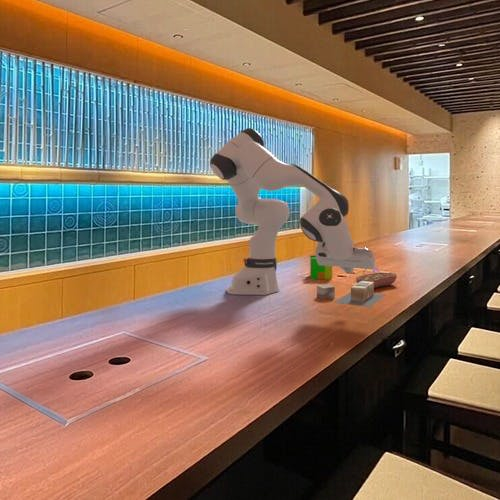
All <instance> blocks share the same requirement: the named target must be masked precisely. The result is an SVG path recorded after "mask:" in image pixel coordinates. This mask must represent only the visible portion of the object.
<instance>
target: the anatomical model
mask: <svg viewBox="0 0 500 500" xmlns="http://www.w3.org/2000/svg"><path fill="white" fill-rule="evenodd" d="M397 276H398V275H397V273H394V272H393V273H392V272H380V273H378V272H377V273H376V272H375V273H369V274H364V275H360V276H357V277H356V278H355V282H356V284H357V283H359V282H361V281H368V282H374V289H376V288H381V287H386V286H391V285H393V284H394V283H395V282H396V280H397Z"/></svg>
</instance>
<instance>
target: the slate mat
mask: <svg viewBox="0 0 500 500" xmlns="http://www.w3.org/2000/svg"><path fill="white" fill-rule="evenodd" d="M385 296H386V294H384V293H383V294H382V293H374V294H373V295H372V296H370V297H369V298H368V299H366V300H365V301H355V300H351V291H350V292H348V293H347V294H345V295H344V296H341V297H340V298H338V299H336V300H334V302H333V303H334V304H343V305H353V306H359V307H360V306H361V307H370V308H371V307H372V306H374V305H375V304H376V303H377V302H379V301H380V300H381V299H383V298H384V297H385Z"/></svg>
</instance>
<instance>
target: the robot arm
mask: <svg viewBox="0 0 500 500" xmlns="http://www.w3.org/2000/svg"><path fill="white" fill-rule="evenodd" d="M209 166H210V168H211V170H212V172H213V173H214V174H215V176H217V177H218V178H219V179H221V180H223V181H227V182H228V183H229V185H230V187H231V189H232V190H233V192H234V195H235V196H236V198H237V205H236V207H235V216H236V218H237V220H238V221H239V222H241V223H244V224H247V225H254V226H255V225H256V226H257V230H256V233H255V234H254V235H252V236H250V238H249V241H248V245H249V246H248V251H249V253H248V257H243V259H242V262H243V263H244V267H243V268H241V269H240V270H238V272H236V273H235V274H234V275H233V277H232V279H231V285H229V286H227V287H226V293H228V294H229V295H244V296H245V295H247V296H251V295H253V296H254V295H255V296H267V295H269V294H274V293H277V292H279V291H280V287H279V283H278V277H277V267H278V266H277V264H278V262H277V257H276V244H277V243H276V242H277V237H278V233H279V231H280V229H281V228H282V226H284V224H286V223H287V221H288V220H289V217H290V207H289V205H288V203H287V202H286V201H283V200H281V199H276V198H261V197H260V196H259V194H260V192H261V189H262V190H264V191H268V192H273V191H274V192H275V191H279V190H282V189H284V188H286V187H291V186H294V185H296V186H297V185H298V186H302V187H304V188H305V189H306V190H308V191H309V192H311V193H312V194H314V195H315V196H317V198H319V200H318V201H317V202H316V203H314V205H313V206H312V207H310V208H309V209H308V210H307V211H305V213H303V215H302V216H301V217H300V218H299V227H300V229H301V231H302V233H303V234H304V235H305V237H307V238H308V239H309V240H311V241H313V242H318V243H317V244H316V248H315V251H314V252H315V253H314V255H315V256H316V260H317V263H318V264H319V265H322V266H332V267H336V268H337V267H338V268H340V269H341V270H343V271H344V273H345V274H354V272H355V271H354V270H355V269H364V270H365V269H366V270H372V268H373V267H374V265H375V264H376V258H375V256H374V254H373V251H372V250H370V249H369V248H366V247H355V244H354V241H353V238H352V235H351V234H350V229H349V226H348V223H347V221H346V219H345V217H346V216H347V215H348V214H349V210H350V209H349V208H350V207H349V206H350V205H349V200H348V198H347V197H346V196H345V195H344V194H343V193H341V192H339V191H337V190H336V189H334V188H331V187H330V186H329V185H328V184H326V183H324V181H321V180H320V179H319V178H317V177H316V176H314V174H312V173H310V172H309V171H307V170H306V169H304V168H302V167H301V166H299V165H297V164H295V163H285V162H283V161H280V160H279V159H278V158H276V157H275V156H274V154H272V153H271V152H270V151H269V150H268V149H266V148H265V142H264V138H263V136H262V135H261V134H260V133H259V132H258V131H257V130H256V129H254V128H252V127H251V128H250V127H248V128H245V129H243V130H241V131H240V132H239V133H238V134H236V135H235V136H234V137H232V138H231V139H229V141H227V143H225V144H224V145H223V146H222V147H221V148H220V149H219V150H218V152H216V153H214V154H213V155H212V157H211V158H210V160H209Z"/></svg>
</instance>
